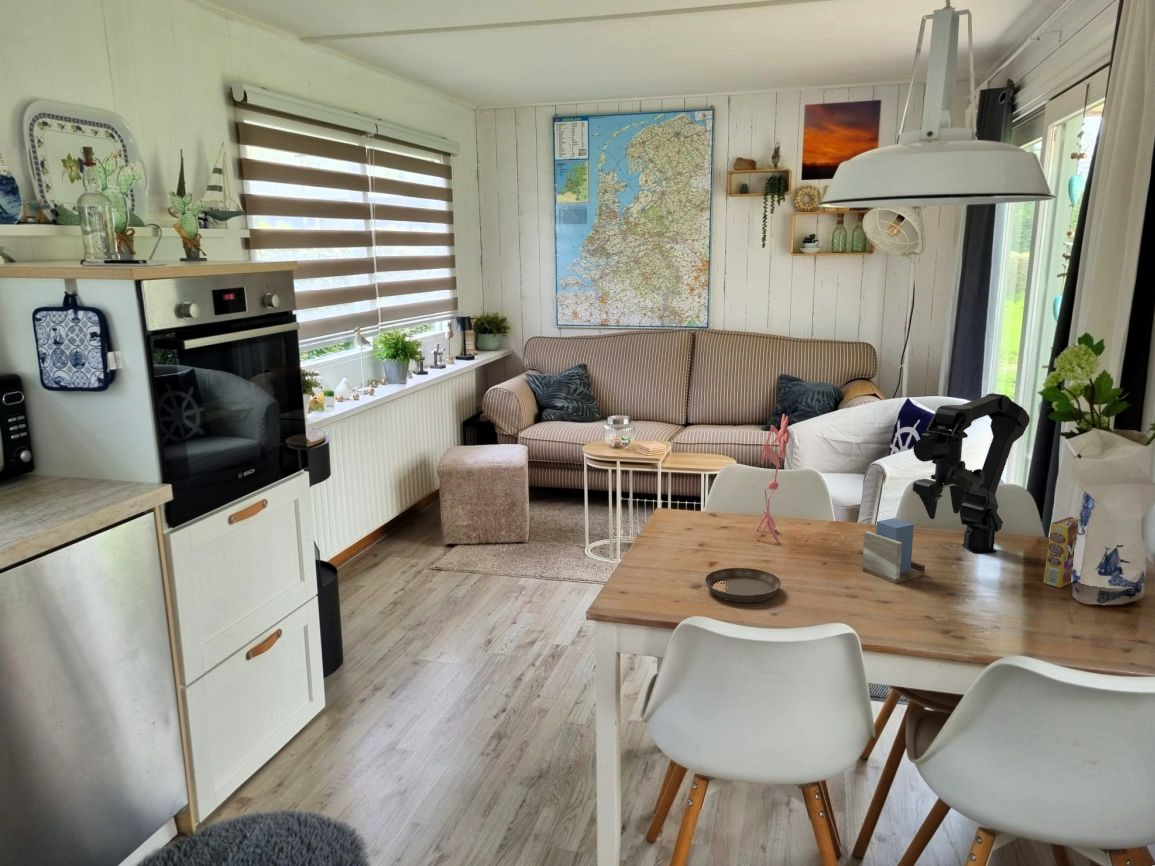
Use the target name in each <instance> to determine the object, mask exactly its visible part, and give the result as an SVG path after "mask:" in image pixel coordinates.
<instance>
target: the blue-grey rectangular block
mask: <svg viewBox="0 0 1155 866" xmlns="http://www.w3.org/2000/svg"><path fill="white" fill-rule="evenodd" d="M914 525H915V524H914V523H911V522H908V521H905V520H901V519H898V518H897V517H896V518H895V517H892V518H887V519H883V520H879V521H876V529H875V534H878V535H881V536H884V537H887V538H890V539H893V540H896V541H898V542H901V543H902V549H901V564H900V574H901V573H905V572H909V571H911V561H912V554H913V544H914V543H913V542H914V541H913V540H914V527H915V526H914Z"/></svg>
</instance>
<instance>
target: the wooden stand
mask: <svg viewBox="0 0 1155 866" xmlns="http://www.w3.org/2000/svg"><path fill="white" fill-rule="evenodd" d="M863 539H864V540H863V554H862V555H863V556H862V570H861V571H862V572H865V573H867V574H870V575H872V576H875V577H877V578H880V579H883V580H885V581H888V582H890V583H893V584H899V583H901V582H905V581H909V580H912V579H916V578H919V577H922V576H925V571H926V565H925V564H923V563H920V562H916V561H914V560H911V571H909V572H905V573H901V574H900V564H901V549H902V543H901V542H898V541H896V540H893V539H890V538H887V537H884V536H881V535H878V534H876V532H871V531H865V532H864V535H863Z"/></svg>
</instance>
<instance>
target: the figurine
mask: <svg viewBox="0 0 1155 866" xmlns="http://www.w3.org/2000/svg"><path fill="white" fill-rule="evenodd" d="M780 421H781V422H780V429H779V430H778V429H777V428H776V427H775V425H773V424H771V425H770V430H769V433H768V436H767V439H766V442H765V443H763V444H762V446H761V447H762V448H761V449H762V450H761V460H760V461H761V462H760V464H761V465H764V462H765V457H766V458H767V459H768V460H769V461H770V462H771V463H772V464H774V465H775V475H774V480H770V482H769V483H768V487H767V488H765V489H764V498H765V505H766V510H764V511H763V514H764V517H763V518H762V519H761V521H760V523H759V524H758V525H757V528H756V529H755V530H756V531H759V530H760V528H761V526H762V524H763V523H764V522H765V525H764V526H763V528H762V530H761V531H760V533H759V534H758V536H757V538H756V541H757V542H758V541H759V540H760V538H761V537H762V536H763V533H764V531H765V530H766V528H767V530H768V531H769V533H770V534H771V536H772V537H773V539H775V540H776V542H777V543H778V544H780V540H779V537H778V535H777V533H776V531H775V529H776V523H775V521H774V519H773V517H772V515H770V499H771V497H772V495H773V494H774V492H775V491H776V490H777V489H778V488H779V483H778V482H777V476H778V471H779V469H781V462H780V459H779V458H782V460H785V458H786V453H787V452H786V451H787V444H788V443H789V441H790V438H791V436H790V434H791V433H790V430H789V429H788V426H789V425H788V424H789V416H788V415H785V413H783V414H782V417H781V420H780ZM772 431H773V433H774V434H775V436H776V437H775V439H774V440H773V441H772V443H771V444H770V445H769V441H770V438H771V435H772ZM776 442H777V443H778V444H779V449H778V455H777V454H776V452H775V451H774V450H773V449H772V447H773V446H774V444H775V443H776ZM768 445H769V446H768ZM778 456H779V458H778ZM767 490H771V493H770V495H769V497H768V499H767ZM789 528H793V529H796V530H798V531H800V532H802V533H803V534H805V532H804V530H803V529H798V528H796V527H793V526H790V525H789ZM807 541H808V539H807V540H806V541H804V543H806V542H807ZM753 547H756V545H753ZM757 547H759V548H760V547H761V546H760V545H757Z"/></svg>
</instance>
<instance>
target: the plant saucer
mask: <svg viewBox="0 0 1155 866" xmlns="http://www.w3.org/2000/svg"><path fill="white" fill-rule="evenodd" d="M720 581H724V582H723V583H722V582H721V583H720V584H726V585H727V586H726V585H725V587H726V588H725V590H726V591H725V592H723V591H724V590H723V591H719V590H717V589H714V588H712V587H713V585H714V584H715V583H717V582H720ZM725 581H726V583H725ZM704 583H705V585H706V586H707V588H708V589H709V590H710V591H711V592H712V594H714V595H715V596H716V595H717V596H716V597H718V596H719V597H718V598H720V597H721V598H720V599H722V598H723V599H722V600H725V599H727V600H726V601H728V600H731V601H730V602H732V601H736V602H735V603H740V602H750V603H749V604H751V602H753V603H759V602H765V601H767V600H769V599H770V598H772V597H773V596H774V595H775V594H776V593H777V592H778V591H779V589H780V587H781V586H782V581H781V579H780V578H779V577H778V576H777V575H775V574H773V573H771V572H769V571H766V570H761V569H756V568H751V567H750V568H749V567H729V568H728V567H727V568H721V569H718V570H714V571H711V572H709V573H708V574H706V575H705V578H704ZM717 584H718V583H717ZM727 587H728V588H727ZM730 587H731V588H730ZM723 589H724V588H723Z"/></svg>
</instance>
